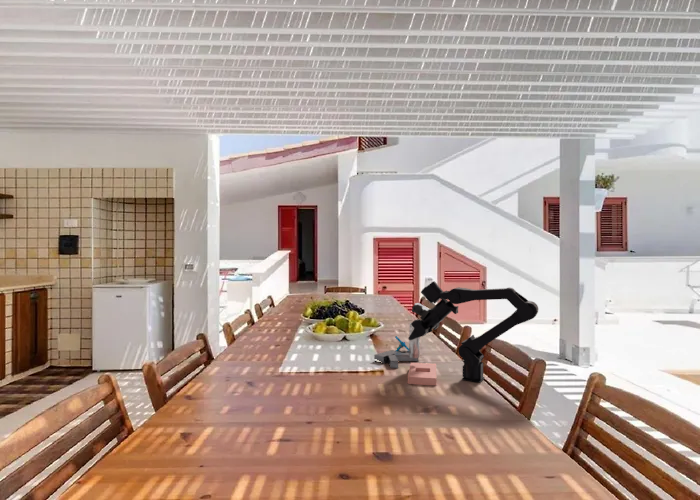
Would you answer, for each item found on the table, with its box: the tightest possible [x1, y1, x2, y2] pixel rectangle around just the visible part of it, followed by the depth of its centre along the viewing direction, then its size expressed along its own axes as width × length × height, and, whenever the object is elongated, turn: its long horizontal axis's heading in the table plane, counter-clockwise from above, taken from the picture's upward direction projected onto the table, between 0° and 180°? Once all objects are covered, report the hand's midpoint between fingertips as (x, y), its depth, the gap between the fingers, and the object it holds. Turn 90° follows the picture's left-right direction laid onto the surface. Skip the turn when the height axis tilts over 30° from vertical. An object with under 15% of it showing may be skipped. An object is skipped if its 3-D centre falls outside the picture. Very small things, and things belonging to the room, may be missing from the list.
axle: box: [408, 322, 421, 359], centre depth 174 cm, size 4×4×13 cm
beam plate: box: [407, 362, 437, 386], centre depth 167 cm, size 20×10×2 cm, turn 169°
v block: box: [373, 349, 419, 369], centre depth 189 cm, size 13×18×3 cm
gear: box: [395, 335, 409, 352], centre depth 207 cm, size 11×6×10 cm
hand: (411, 338), depth 175 cm, fingers closed on axle, 4 cm apart
